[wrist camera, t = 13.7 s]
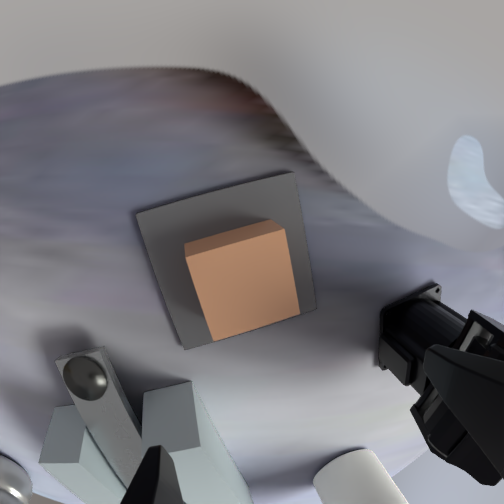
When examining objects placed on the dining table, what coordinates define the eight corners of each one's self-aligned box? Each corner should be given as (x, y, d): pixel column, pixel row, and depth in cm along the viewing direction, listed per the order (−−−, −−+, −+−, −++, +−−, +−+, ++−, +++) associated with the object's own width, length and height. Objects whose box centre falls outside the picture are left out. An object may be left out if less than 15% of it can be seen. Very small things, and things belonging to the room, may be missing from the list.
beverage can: (299, 475, 27) (338, 557, 16) (360, 437, 28) (413, 515, 16) (326, 488, 31) (361, 555, 19) (378, 456, 31) (422, 519, 19)
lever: (60, 355, 16) (52, 362, 15) (104, 345, 17) (97, 352, 16) (178, 540, 18) (178, 549, 17) (213, 536, 19) (214, 545, 17)
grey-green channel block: (55, 407, 18) (38, 463, 13) (191, 381, 20) (200, 446, 14) (148, 504, 24) (151, 545, 19) (248, 486, 26) (261, 529, 21)
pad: (291, 171, 17) (294, 172, 17) (314, 306, 20) (316, 308, 20) (136, 213, 16) (135, 214, 16) (184, 346, 19) (184, 350, 19)
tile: (270, 219, 17) (284, 228, 15) (286, 295, 19) (300, 313, 17) (184, 243, 17) (185, 257, 14) (208, 319, 18) (213, 341, 16)
